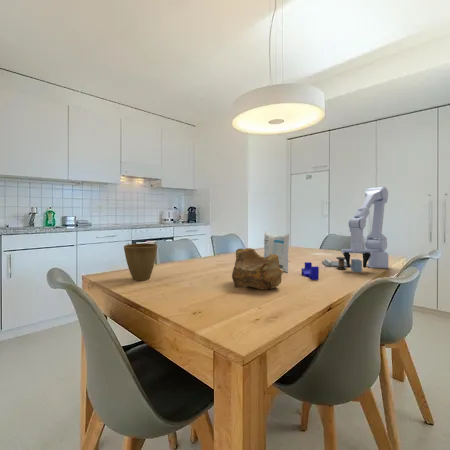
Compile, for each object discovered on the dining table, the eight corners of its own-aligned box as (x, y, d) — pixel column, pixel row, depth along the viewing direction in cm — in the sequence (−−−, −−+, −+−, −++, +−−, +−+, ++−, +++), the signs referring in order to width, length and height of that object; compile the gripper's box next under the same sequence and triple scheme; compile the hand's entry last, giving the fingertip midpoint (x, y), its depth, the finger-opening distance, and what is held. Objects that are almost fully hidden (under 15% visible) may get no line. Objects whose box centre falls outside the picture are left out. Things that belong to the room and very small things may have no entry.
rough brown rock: (217, 285, 121) (215, 252, 119) (245, 276, 131) (243, 245, 130) (257, 300, 103) (255, 260, 101) (285, 288, 114) (284, 252, 112)
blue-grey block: (358, 270, 147) (358, 259, 147) (361, 272, 142) (361, 260, 141) (351, 270, 148) (351, 258, 148) (354, 272, 142) (354, 260, 142)
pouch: (281, 273, 140) (281, 234, 139) (259, 267, 157) (259, 231, 156) (293, 272, 144) (293, 233, 143) (271, 265, 161) (271, 231, 160)
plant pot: (118, 279, 130) (117, 245, 129) (146, 274, 141) (146, 242, 140) (135, 285, 120) (134, 248, 119) (164, 279, 131) (163, 244, 130)
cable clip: (301, 274, 139) (301, 262, 139) (310, 274, 139) (310, 262, 139) (308, 280, 127) (308, 267, 127) (318, 280, 127) (318, 267, 127)
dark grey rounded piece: (344, 267, 154) (345, 257, 154) (347, 269, 149) (347, 258, 149) (335, 267, 155) (335, 256, 154) (337, 269, 150) (337, 258, 149)
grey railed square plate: (346, 262, 168) (346, 258, 168) (352, 267, 155) (352, 263, 154) (321, 262, 171) (321, 258, 170) (326, 266, 157) (326, 262, 157)
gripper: (343, 241, 141) (343, 268, 142) (374, 242, 139) (374, 269, 140) (340, 240, 148) (340, 265, 149) (369, 240, 146) (369, 266, 147)
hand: (356, 267), depth 145 cm, fingers open, 7 cm apart
